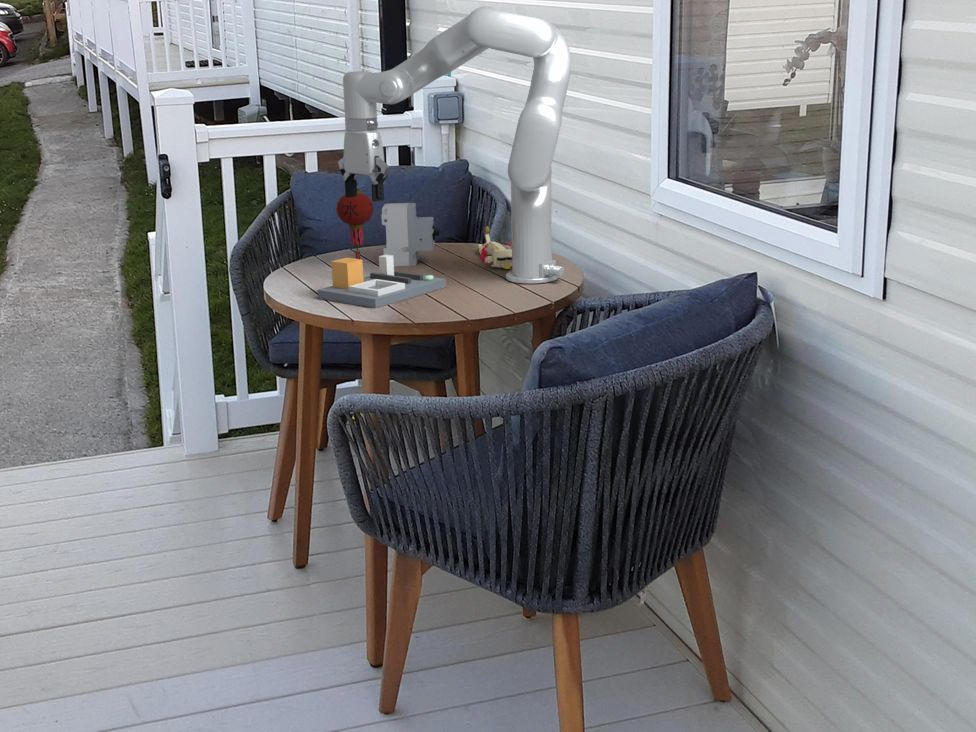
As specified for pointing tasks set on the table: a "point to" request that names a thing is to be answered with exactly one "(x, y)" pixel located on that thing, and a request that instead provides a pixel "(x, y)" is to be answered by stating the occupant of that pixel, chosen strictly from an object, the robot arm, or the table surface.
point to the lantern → (355, 216)
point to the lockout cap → (347, 272)
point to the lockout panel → (383, 289)
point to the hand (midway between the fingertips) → (364, 198)
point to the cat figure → (495, 252)
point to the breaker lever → (386, 264)
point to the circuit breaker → (407, 233)
